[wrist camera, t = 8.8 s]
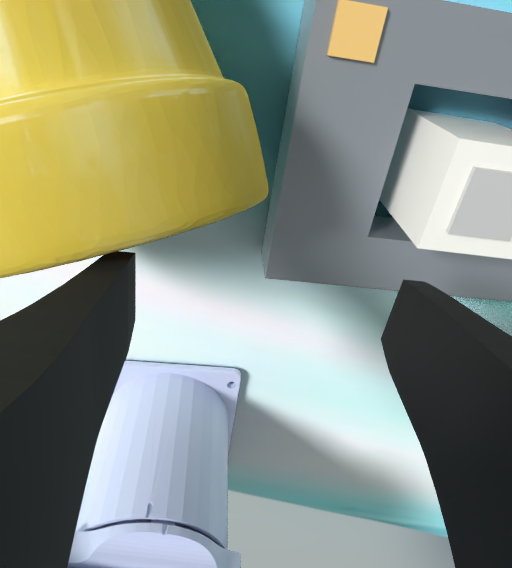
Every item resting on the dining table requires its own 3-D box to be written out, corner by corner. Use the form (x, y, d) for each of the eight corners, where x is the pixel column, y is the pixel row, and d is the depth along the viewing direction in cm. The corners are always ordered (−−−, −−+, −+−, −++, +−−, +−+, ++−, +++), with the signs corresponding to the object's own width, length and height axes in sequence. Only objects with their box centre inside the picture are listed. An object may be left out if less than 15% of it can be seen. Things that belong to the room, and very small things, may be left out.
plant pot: (283, -226, 10) (342, 188, 13) (113, -29, 18) (172, 204, 21) (-449, -578, 4) (-60, 318, 7) (-233, -60, 12) (-87, 272, 15)
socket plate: (523, 278, 23) (555, 307, 21) (261, 251, 22) (265, 280, 19) (650, 44, 18) (713, 49, 15) (307, -19, 16) (321, -23, 14)
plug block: (458, 209, 21) (519, 262, 17) (378, 198, 20) (419, 250, 16) (494, 122, 19) (575, 157, 15) (406, 108, 18) (462, 140, 14)
